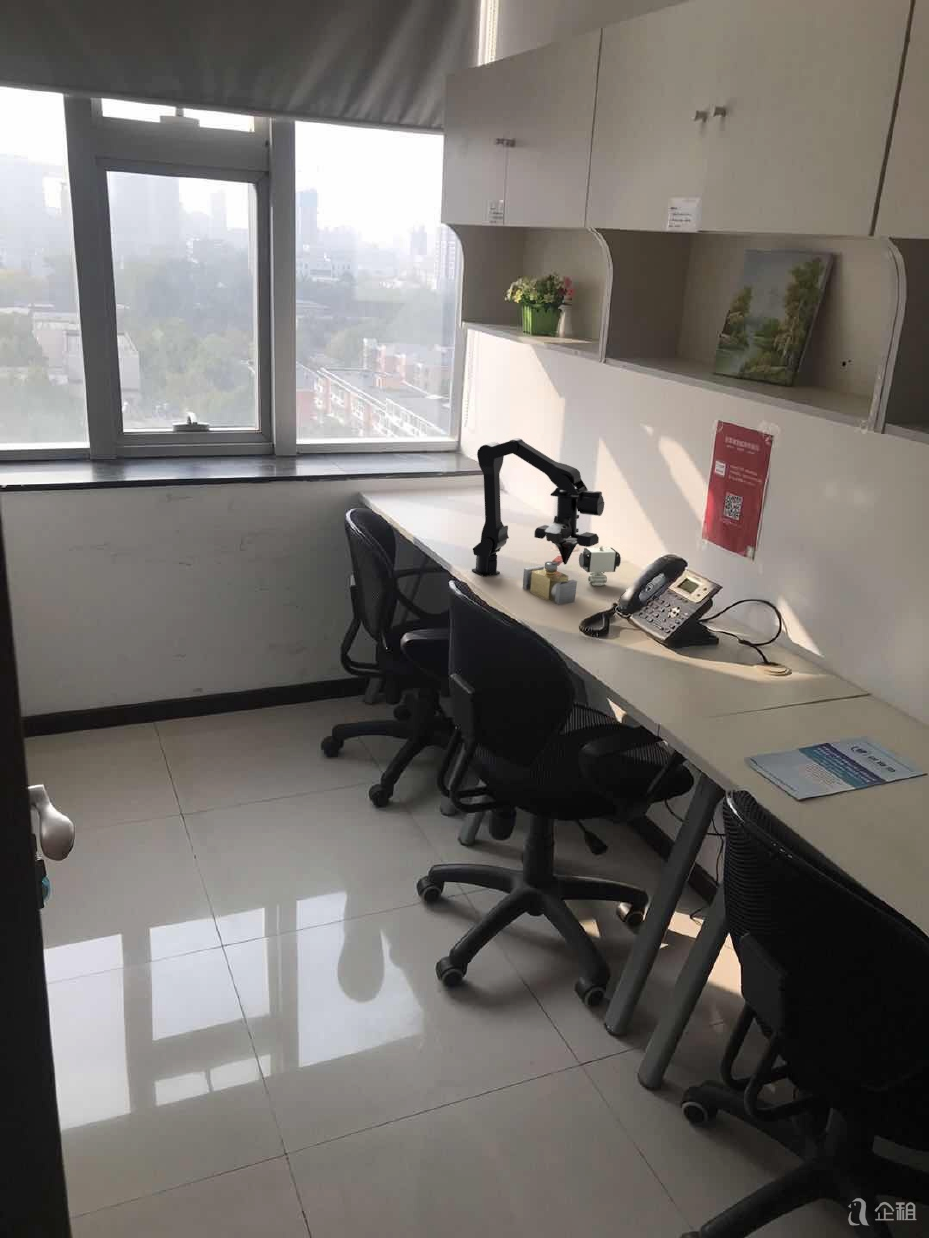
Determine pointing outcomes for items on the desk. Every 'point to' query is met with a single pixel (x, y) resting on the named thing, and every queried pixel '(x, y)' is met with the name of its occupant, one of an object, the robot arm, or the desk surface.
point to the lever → (553, 564)
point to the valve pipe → (549, 585)
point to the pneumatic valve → (599, 563)
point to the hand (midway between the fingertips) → (565, 564)
